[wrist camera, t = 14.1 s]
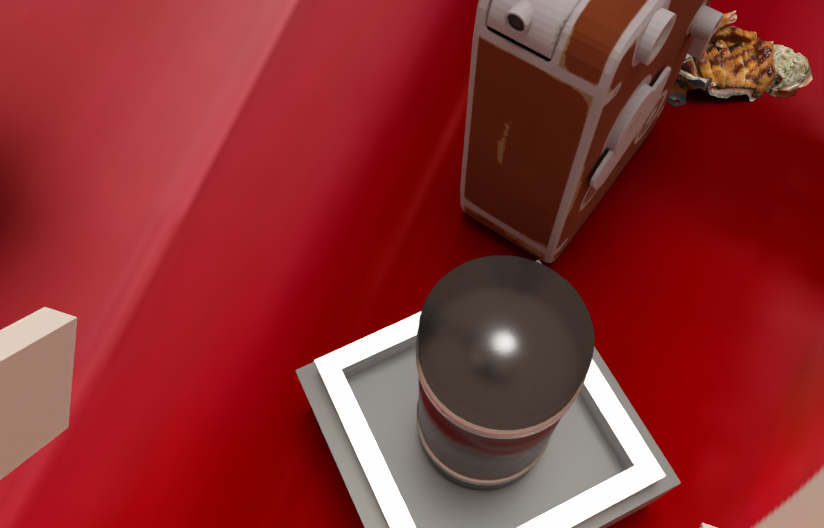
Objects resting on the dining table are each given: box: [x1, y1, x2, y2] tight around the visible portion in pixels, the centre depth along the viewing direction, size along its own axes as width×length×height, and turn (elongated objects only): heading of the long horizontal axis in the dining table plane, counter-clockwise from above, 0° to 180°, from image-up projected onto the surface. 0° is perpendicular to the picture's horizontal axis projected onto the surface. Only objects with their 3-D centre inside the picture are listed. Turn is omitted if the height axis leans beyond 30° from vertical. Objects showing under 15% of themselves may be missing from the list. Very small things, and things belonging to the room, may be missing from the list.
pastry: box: [667, 11, 812, 106], centre depth 54 cm, size 7×12×4 cm, turn 93°
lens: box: [416, 255, 594, 491], centre depth 32 cm, size 6×6×12 cm
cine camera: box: [460, 0, 723, 263], centre depth 43 cm, size 9×19×20 cm, turn 144°
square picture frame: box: [314, 312, 666, 528], centre depth 36 cm, size 12×12×2 cm
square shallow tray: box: [295, 260, 681, 528], centre depth 40 cm, size 14×13×6 cm
